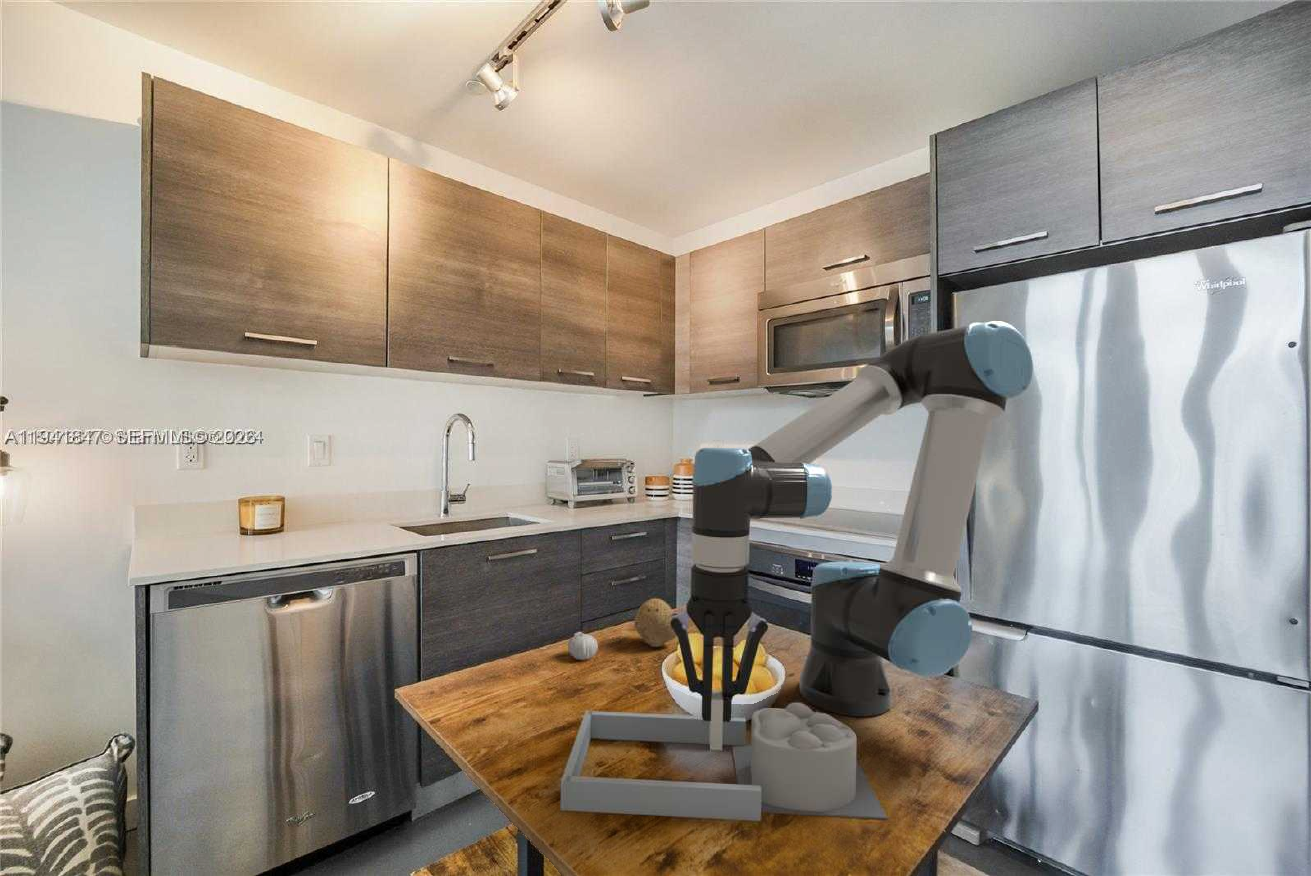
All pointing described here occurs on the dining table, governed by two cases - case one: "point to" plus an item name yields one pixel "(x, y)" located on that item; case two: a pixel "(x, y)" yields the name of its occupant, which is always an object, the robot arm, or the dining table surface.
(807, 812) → the mat
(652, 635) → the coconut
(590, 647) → the garlic
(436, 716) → the dining table surface
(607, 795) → the low rectangular rim
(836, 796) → the lumpy-topped squat cylinder
